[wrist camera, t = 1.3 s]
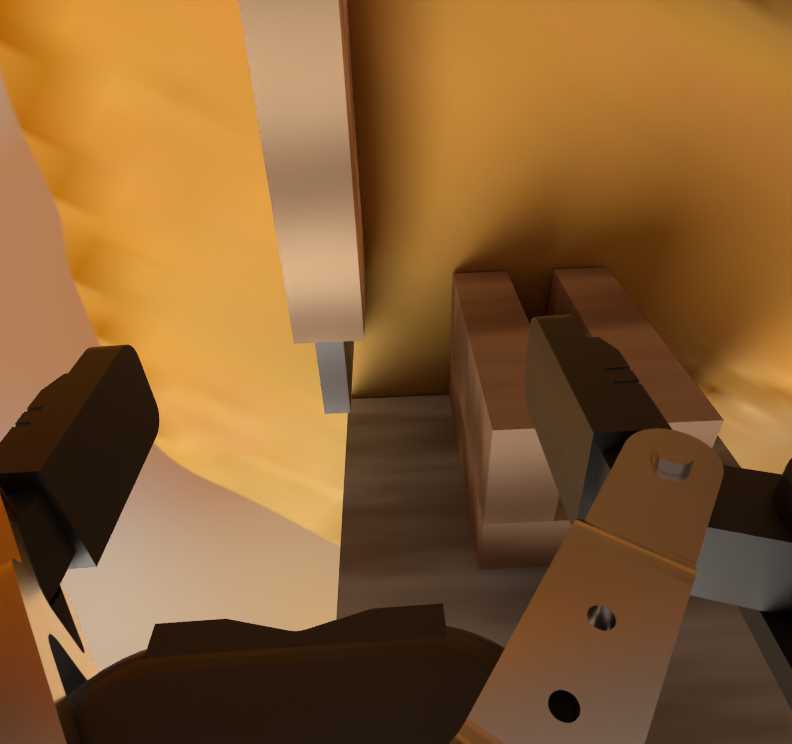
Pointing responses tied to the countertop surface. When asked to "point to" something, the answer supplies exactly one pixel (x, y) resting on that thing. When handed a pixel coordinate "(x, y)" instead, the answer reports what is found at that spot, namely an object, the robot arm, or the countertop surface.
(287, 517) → the countertop surface
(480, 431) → the slotted block base plate
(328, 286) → the rail
